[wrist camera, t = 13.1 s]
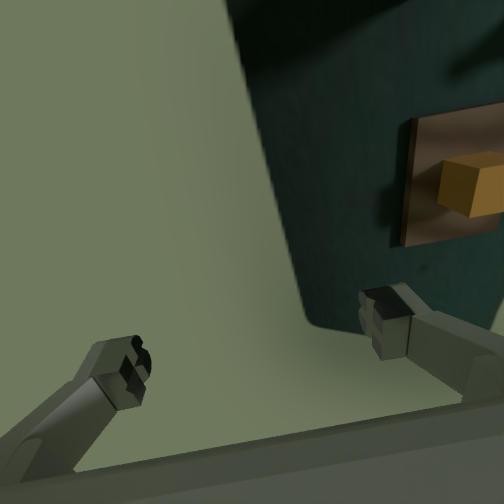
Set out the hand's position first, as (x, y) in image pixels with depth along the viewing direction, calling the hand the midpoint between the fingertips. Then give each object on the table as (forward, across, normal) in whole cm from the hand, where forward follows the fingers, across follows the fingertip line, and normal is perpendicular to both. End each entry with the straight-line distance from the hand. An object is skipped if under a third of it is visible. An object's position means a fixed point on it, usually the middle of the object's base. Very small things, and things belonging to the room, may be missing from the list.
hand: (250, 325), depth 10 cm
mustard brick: (+28, -30, +8) cm, 42 cm away
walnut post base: (+30, -30, +8) cm, 43 cm away
